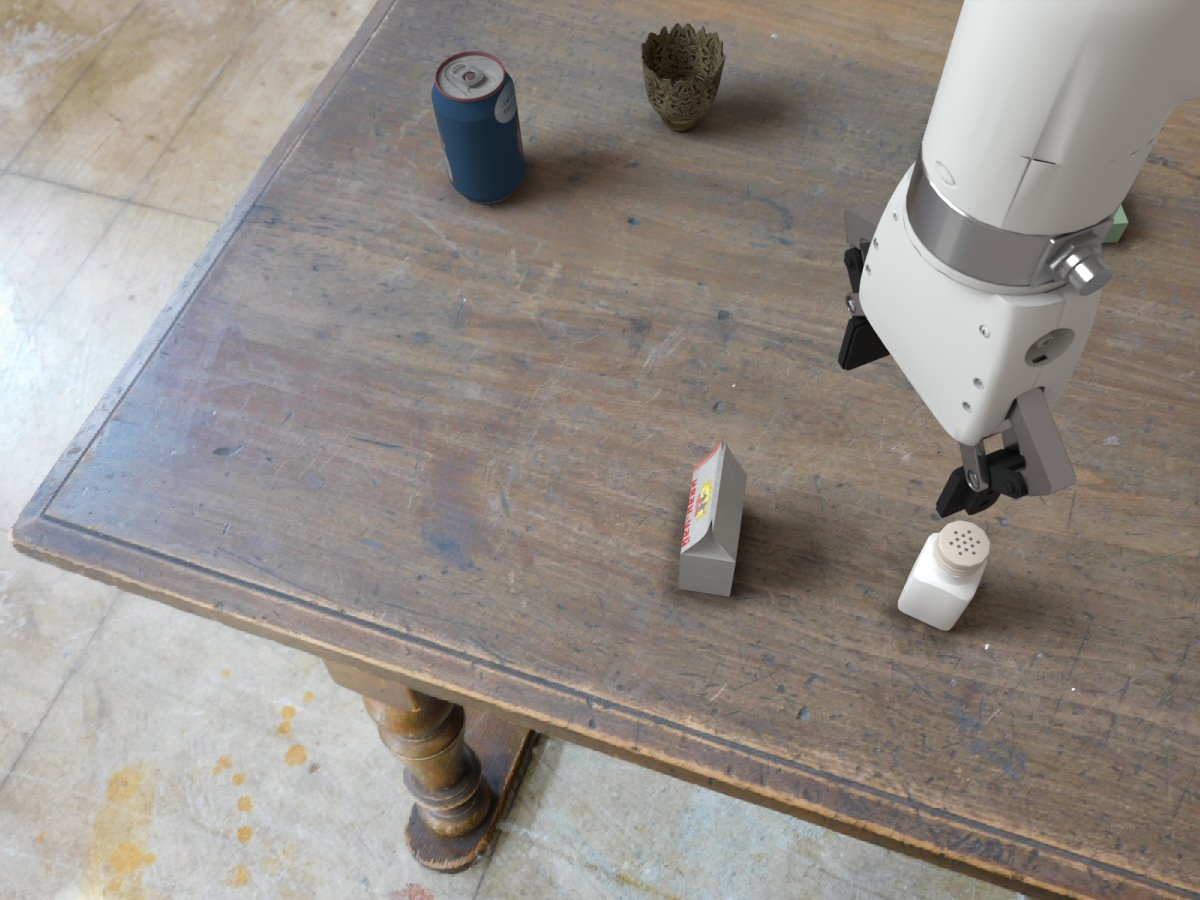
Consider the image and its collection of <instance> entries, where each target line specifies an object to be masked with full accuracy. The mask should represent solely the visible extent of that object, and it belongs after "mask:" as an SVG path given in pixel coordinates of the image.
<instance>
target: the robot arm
mask: <svg viewBox="0 0 1200 900" xmlns="http://www.w3.org/2000/svg"><path fill="white" fill-rule="evenodd" d="M1194 100H1200V0H963V3H962V6H961V10H960V13H959V17H958V20H957V23H956V26H955V29H954V33H953V37H952V40H951V43H950V46H949V49H948V53H947V57H946V60H945V63H944V67H943V70H942V73H941V76H940V80H939V84H938V86H937V91H936V93H935V97H934V101H933V104H932V107H931V111H930V114H929V117H928V121H927V124H926V127H925V131H924V134H923V137H922V140H921V142H920V146H919V150H918V153H917V156H916V160H915V161H914V163H912V164H911V166H910V167H909V168H908V169H907V171H906V172H905V174H904V176H902V179H900V181H899V183H898V184H897V186H896V188H895V189H894V191H893V193H892V195H891V197H890V198H889V200H888V202H887V204H886V206H885V208H883V207H881V206H880V205H877V204H875V203H874V202H872V201H870V200H869V201H867V200H866V201H865V202H862V203H859V204H856V205H854V206H851V207H850V206H849V207H848V208H846V209H844V215H843V216H844V225H845V227H844V228H845V236H846V237H845V238H846V243H847V244H849V248H848V249H846V250H845V251H844V258H843V263H844V266H845V267H846V271H847V274H848V279H849V282H850V286H851V287H850V288H851V292H848V293H846V294H845V295H844V305H845V307H846V309H847V311H848V313H849V314H850V315H851V318H849V319H848V320H847V324H846V328H845V332H844V335H843V339H842V342H841V345H840V350H839V354H838V357H837V363H838V365H839V366H840V368H841V369H842V370H843V371H844V370H846V371H848V372H849V371H852V370H854V369H857V368H859V367H862V366H865V365H868V364H871V363H873V362H875V361H878V360H881V359H883V358H885V357H889V356H890V355H891V357H892V358H893V360H894V361H895V362H896V364H897V366H898V367H899V368H900V370H901V371H902V373H903V375H905V378H906V379H907V380H908V381H909V383H910V384H911V386H912V387H913V388H914V390H915V391H916V393H917V394H918V396H919V397H920V398H921V400H922V402H924V404H925V406H926V407H927V408H928V409H929V411H930V412H931V413H932V414H933V417H934V418H935V419H936V420H937V422H938V423H939V425H940V426H941V427H942V428H943V429H944V431H945V432H946V433H947V434H948V435H949V436H950V437H952V438H953V439H954V440H955V441H957V442H958V444H959V450H960V456H961V461H962V465H960V466H959V467H957V468H955V469H954V470H952V472H951V473H950V475H949V477H948V480H946V483H945V484H944V487H943V489H942V491H941V493H940V494H939V496H938V499H937V501H936V502H935V506H936V507H935V510H936V512H937V514H938V515H939V517H940V518H941V519H945V518H947V517H950V516H952V515H954V514H957V513H959V512H962V511H965V512H966V514H967V515H968V516H974V515H977V514H980V513H982V512H983V511H985V510H987V509H990V508H991V507H992V506H993V505H994V504H996V502H997V501H998V500H999V498H1000V496H1001V495H1003V496H1006V497H1009V498H1011V499H1013V500H1018V499H1021V498H1023V497H1042V496H1051V495H1052V494H1055V493H1058V492H1060V491H1063V490H1064V489H1067V488H1069V487H1071V486H1074V485H1075V484H1076V483H1077V475H1076V472H1075V470H1074V467H1073V464H1072V462H1071V460H1070V457H1069V454H1068V453H1067V450H1066V446H1065V444H1064V442H1063V440H1062V436H1061V435H1060V432H1059V429H1058V427H1057V425H1056V422H1055V420H1054V418H1053V417H1054V416H1053V414H1052V412H1053V410H1054V409H1055V408H1056V406H1057V404H1058V403H1059V401H1060V399H1061V398H1062V395H1063V394H1064V392H1065V390H1066V388H1067V387H1068V385H1069V382H1070V380H1071V378H1072V376H1073V374H1074V372H1075V370H1076V368H1077V365H1078V363H1079V361H1080V359H1081V357H1082V355H1083V352H1084V350H1085V347H1086V344H1087V342H1088V340H1089V337H1090V334H1091V331H1092V329H1093V325H1094V322H1095V319H1096V316H1097V313H1098V308H1099V305H1100V302H1101V296H1102V294H1103V293H1102V292H1103V287H1104V286H1105V285H1106V284H1108V283H1109V282H1110V280H1111V278H1112V277H1113V275H1114V271H1113V270H1112V269H1111V267H1110V266H1109V265H1108V264H1107V263H1106V262H1105V260H1104V257H1105V254H1103V248H1102V244H1104V243H1103V241H1104V239H1105V237H1106V235H1107V234H1108V232H1109V230H1110V228H1111V226H1112V225H1113V223H1114V221H1115V220H1114V219H1113V218H1114V216H1115V214H1116V212H1117V211H1118V209H1119V207H1120V205H1122V204H1123V201H1124V200H1125V198H1126V197H1127V195H1128V193H1129V191H1130V189H1131V188H1132V185H1133V184H1134V182H1135V181H1136V179H1137V176H1138V175H1139V173H1140V171H1141V170H1142V167H1143V166H1144V164H1145V163H1146V160H1147V158H1148V157H1149V155H1150V153H1151V152H1152V150H1153V148H1154V146H1155V144H1156V142H1157V140H1158V138H1159V137H1160V135H1161V133H1162V131H1163V130H1164V127H1165V125H1166V124H1167V121H1168V120H1169V118H1170V116H1171V114H1172V113H1173V112H1174V110H1175V109H1177V108H1178V106H1181V105H1182V104H1185V103H1187V102H1190V101H1194ZM999 434H1001V439H1002V446H1003V448H999V449H997V450H995V451H992V452H990V453H987V454H986V448H985V441H984V440H986V439H988V438H992V437H994V436H996V435H999Z"/></svg>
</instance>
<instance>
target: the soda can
mask: <svg viewBox="0 0 1200 900" xmlns="http://www.w3.org/2000/svg"><path fill="white" fill-rule="evenodd" d="M430 96H431V103H432V108H433V111H434V116H435V122H436V126H437V131H438V135H439V141H440V144H441V149H442V153H443V154H442V155H443V159H444V163H445V167H446V171H447V176H448V180H449V183H450V185H451V186H452V188H453V189H454V190H455V191H456V192H457V193H459V195H461V196H462V197H464V198H465V199H467V200H469V201H471V202H473V203H476V204H482V205H483V204H484V205H491V204H495V203H496V204H497V203H500V202H502V201H504V200H506V199H508V198H509V197H511V196H512V195H513V194H514V193H515V192H516V190H517V189H518V188H519V186H520V185H521V183H522V181H523V179H524V177H525V173H526V161H525V154H524V147H523V145H524V144H523V138H522V132H521V124H520V123H521V122H520V116H519V108H518V101H517V95H516V88H515V83H514V80H513V79H512V77H511V75H510V74H509V73H508V72H507V70H506V69H505V66H504V64H503V63H502V61H501V60H500V59H499V58H497V56H495V55H493V54H491V53H489V52H484V51H478V50H469V51H463V52H458V53H456V54H453V55H450V56H449V57H447V58H446V59H445V60H443V61H442V62H441V63H440V65H439V66H438V67H437V69H436V71H435V74H434V83H433V86H432V89H431V95H430Z"/></svg>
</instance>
